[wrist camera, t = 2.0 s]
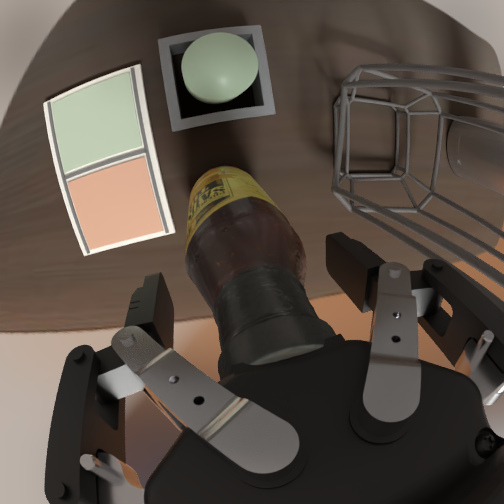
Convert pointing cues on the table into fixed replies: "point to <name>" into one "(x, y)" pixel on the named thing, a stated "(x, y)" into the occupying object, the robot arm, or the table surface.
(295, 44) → the table surface
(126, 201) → the colouring card
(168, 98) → the button housing
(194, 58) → the button
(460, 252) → the geometric lantern
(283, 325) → the sauce bottle
